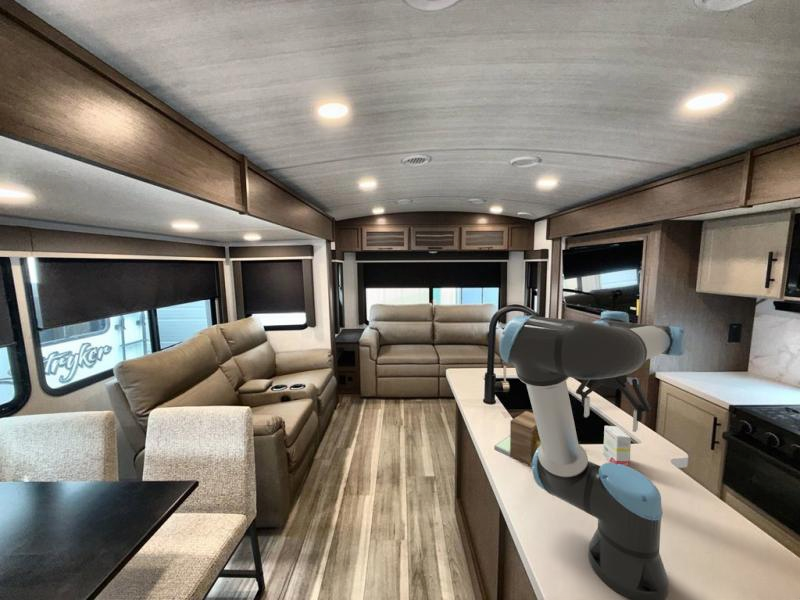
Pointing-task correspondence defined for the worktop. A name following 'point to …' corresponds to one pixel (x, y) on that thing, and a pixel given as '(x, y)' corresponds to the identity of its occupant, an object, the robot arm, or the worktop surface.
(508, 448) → the deck
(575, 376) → the robot arm
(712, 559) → the worktop surface
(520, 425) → the wooden house block
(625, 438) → the ink box
